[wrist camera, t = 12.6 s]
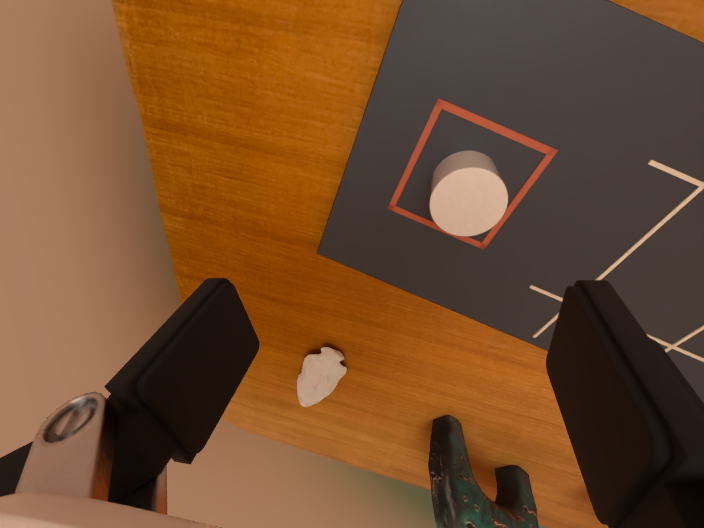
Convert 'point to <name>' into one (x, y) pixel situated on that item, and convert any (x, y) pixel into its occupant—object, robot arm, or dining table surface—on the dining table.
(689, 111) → the board
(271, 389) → the dining table surface
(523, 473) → the ceramic cat
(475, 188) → the white cylinder
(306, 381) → the stone tool
